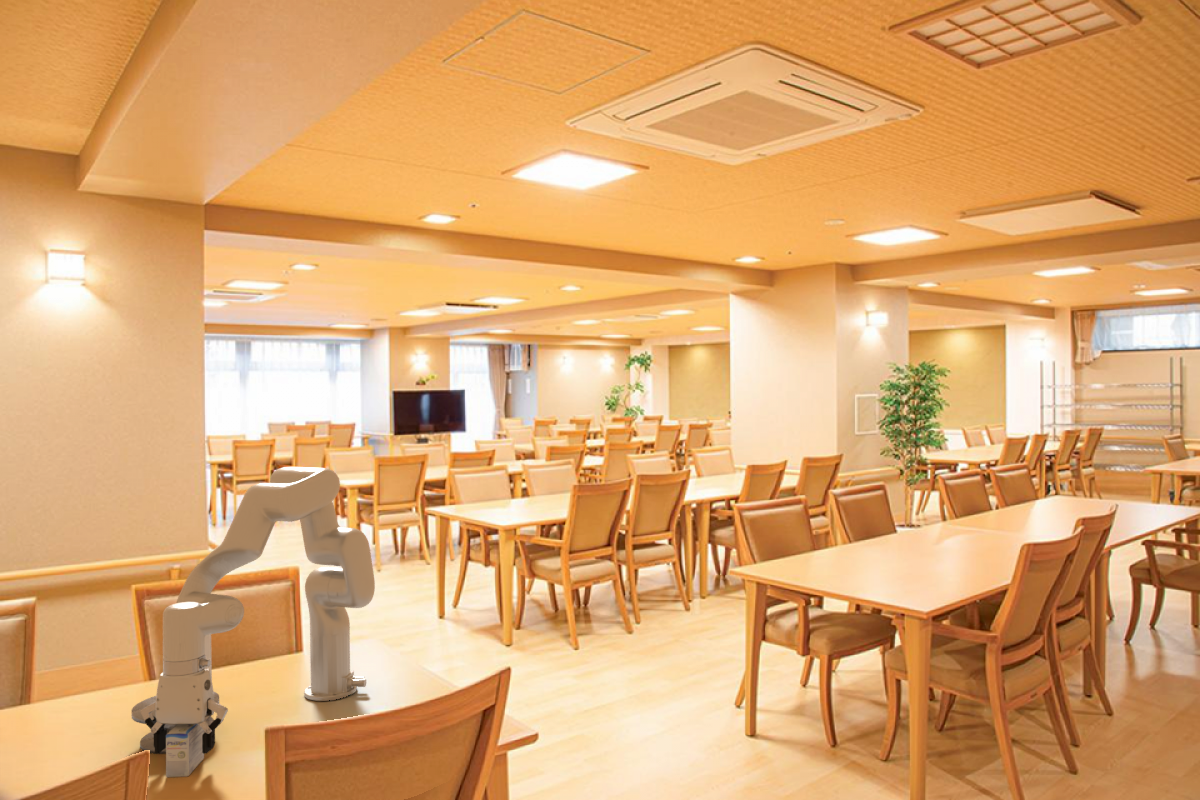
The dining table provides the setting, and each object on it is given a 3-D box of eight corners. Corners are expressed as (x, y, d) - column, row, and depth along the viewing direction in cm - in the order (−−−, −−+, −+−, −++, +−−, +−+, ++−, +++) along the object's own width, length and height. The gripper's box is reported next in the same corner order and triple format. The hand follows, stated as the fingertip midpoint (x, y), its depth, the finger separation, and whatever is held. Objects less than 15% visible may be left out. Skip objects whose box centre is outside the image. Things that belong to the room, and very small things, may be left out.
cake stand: (234, 724, 186) (233, 689, 186) (194, 757, 169) (193, 718, 169) (161, 724, 187) (160, 689, 187) (114, 756, 170) (113, 718, 170)
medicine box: (182, 760, 168) (182, 718, 168) (205, 759, 168) (204, 717, 168) (165, 778, 160) (164, 734, 160) (189, 776, 160) (188, 733, 160)
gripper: (235, 659, 167) (235, 743, 167) (152, 659, 168) (153, 742, 168) (216, 671, 160) (217, 759, 160) (130, 671, 161) (131, 758, 160)
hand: (184, 750), depth 164 cm, fingers open, 9 cm apart
